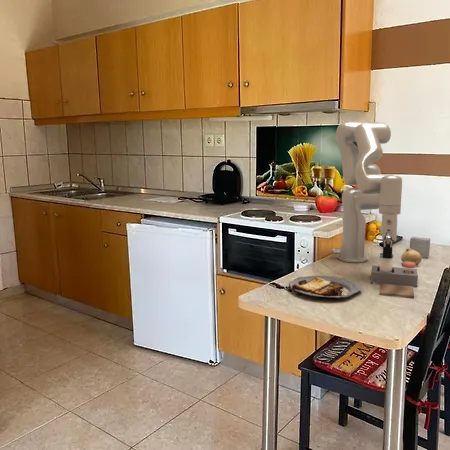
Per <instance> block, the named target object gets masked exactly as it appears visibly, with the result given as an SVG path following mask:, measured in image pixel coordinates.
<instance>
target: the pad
mask: <svg viewBox="0 0 450 450" xmlns="http://www.w3.org/2000/svg"><path fill="white" fill-rule="evenodd" d="M379 285H380V286H379V296H388V297H396V298H397V297H398V298H406V299H407V298H408V299H415V291H414V287H413V286H403V285H393V284H382V283H379Z"/></svg>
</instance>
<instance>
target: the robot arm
mask: <svg viewBox="0 0 450 450" xmlns="http://www.w3.org/2000/svg"><path fill="white" fill-rule="evenodd" d="M391 137H392V131H391V128H390V126H389V125H388V124H387V123H385V122H377V121H345V122H342V123H340V124H339V125H338V126H337V129H336V133H335V140H336V143H337V147H338V151H339V153H340V156H341V157H340V158H341V166H342V167H341V169H342V175H343V177H342V178H343V181H344V184H346V185H348V186H357V187H351V188H347V189H345V190H344V191H343V192H342V194H341V202H342V212H343V213H342V215H343V216H342V217H343V218H342V219H343V220H342V238H341V239H342V240H341V241H342V243H341V248H331V253H332V254H334V255H337V259H338V260H340V261H341V262H347V263H365V262H367V261H368V256H366V255H365V244H366V243H365V241H366V225H367V224H366V222H367V220H366V217H365V216H364V214H363V213H362V211H363V210H365V211H366V210H378V214H380V215H381V239H382V241H383V246H382V253H383V258H392V254H393V241H394V242H396V241H397V232H398V215H401V213H402V212H401V209H402V194H403V193H402V191H403V178H402V177H401V176H399V175H394V174H391V173H382V172H381V169H380V167H379V166H378V164H375V162H378V161H379V160H380V159H381V158H382V157H383V154H384V151H383V148H382V145H381V144H384V145H385V144H387V143H389V141H390V140H391ZM355 143H356V144H355Z"/></svg>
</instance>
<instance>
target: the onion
mask: <svg viewBox="0 0 450 450" xmlns="http://www.w3.org/2000/svg"><path fill="white" fill-rule="evenodd" d="M422 259H423V258H421V255H420V254H419V253H418V252H417V251H415V250H413V249H410V247H409V248H405V251H403V253H402V254H401V257H400V260H401V262H402V263H403V262H405V261H409V262H414V263H416V264H415V267H416V266H418V265H419V264H420V263H421V262H422Z"/></svg>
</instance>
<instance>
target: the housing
mask: <svg viewBox="0 0 450 450" xmlns="http://www.w3.org/2000/svg"><path fill="white" fill-rule="evenodd" d="M379 269H380V265H374V264H372V267H371V271H370V283H371V284H372V283H373V284H380V283H382V284H393V285H403V286H413V288H414V287H415V288H417V287H418V279H419V275H418V270H417V268H405V267H397V266H394V267H393V266H392V272H380V271H379ZM405 271H412V273H405Z"/></svg>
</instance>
